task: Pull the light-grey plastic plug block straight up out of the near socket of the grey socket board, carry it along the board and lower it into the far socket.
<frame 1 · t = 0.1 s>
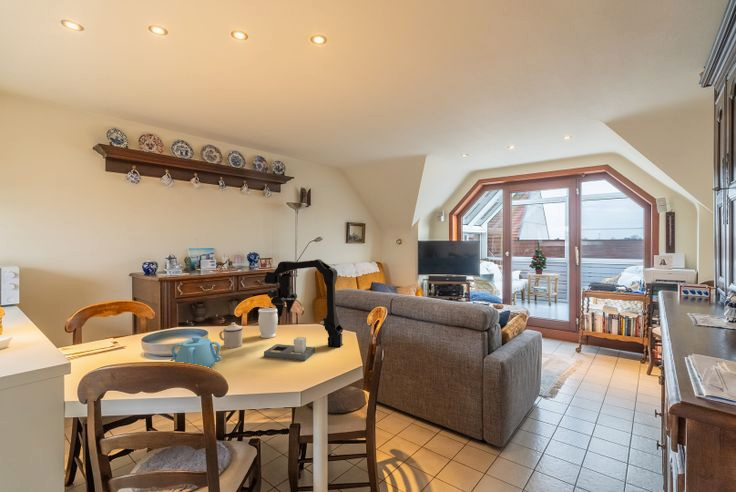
hand: (284, 314, 180), 15 cm above the table, fingers open, 9 cm apart
jar: (268, 336, 191), on the table
teacup with lid: (230, 345, 174), on the table
decorative pot: (196, 370, 141), on the table
grey socket board: (290, 355, 159), on the table
plug: (300, 355, 158), resting on grey socket board
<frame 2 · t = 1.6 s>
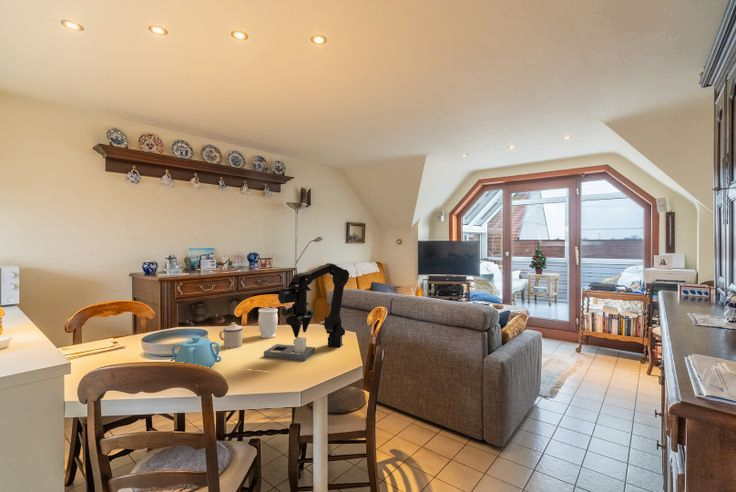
hand: (300, 334, 158), 10 cm above the table, fingers open, 9 cm apart
nothing on the table moved.
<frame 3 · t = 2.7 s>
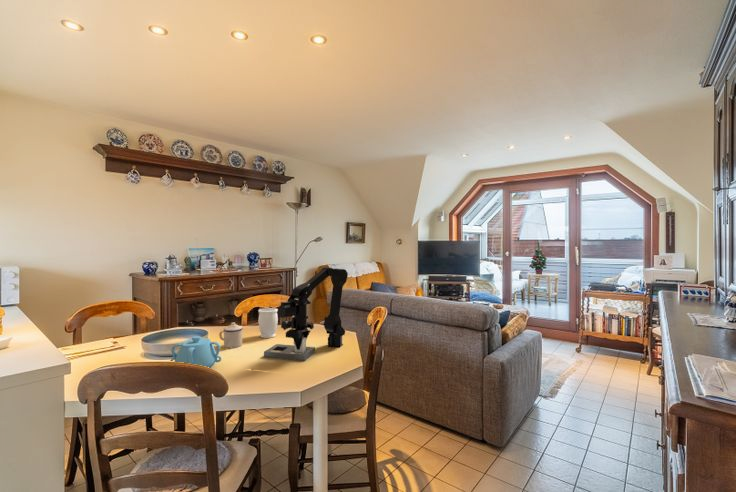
hand: (300, 348, 158), 4 cm above the table, fingers closed on plug, 4 cm apart
plug: (300, 355, 158), resting on grey socket board, touching gripper
everything else where it was.
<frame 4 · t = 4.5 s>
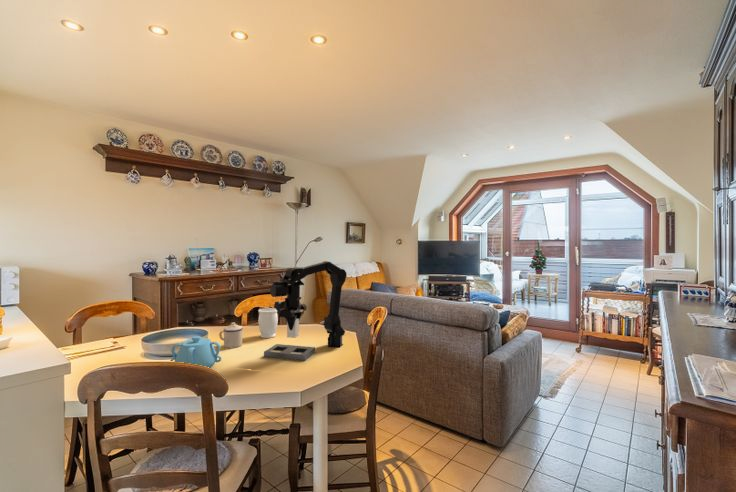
hand: (292, 328, 159), 13 cm above the table, fingers closed on plug, 4 cm apart
plug: (292, 336, 159), point 9 cm above the table, touching gripper
everything else where it was.
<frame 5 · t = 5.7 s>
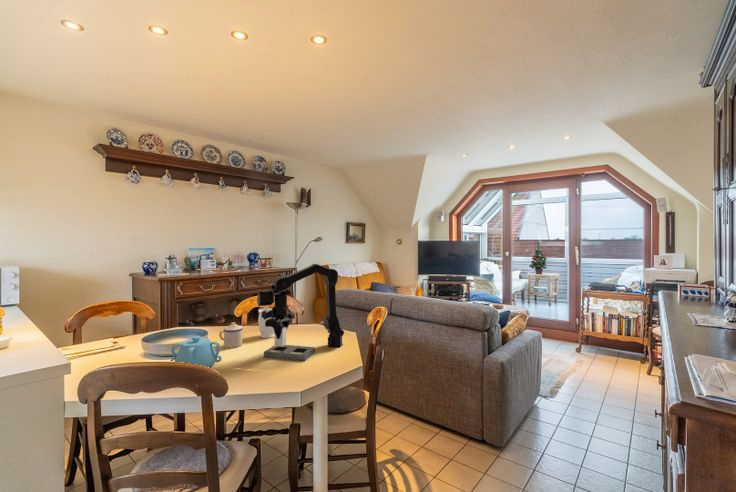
hand: (280, 337, 160), 8 cm above the table, fingers closed on plug, 4 cm apart
plug: (280, 344, 160), point 5 cm above the table, touching gripper
everything else where it was.
when the fingers open (5 cm above the table, at t = 6.6 s): plug stays where it is, resting on grey socket board.
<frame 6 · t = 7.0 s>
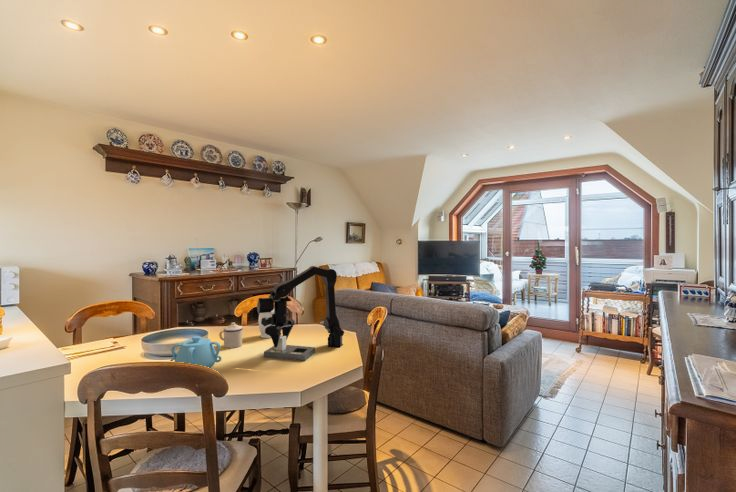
hand: (280, 344, 160), 5 cm above the table, fingers open, 9 cm apart
plug: (280, 353, 160), resting on grey socket board
everything else where it was.
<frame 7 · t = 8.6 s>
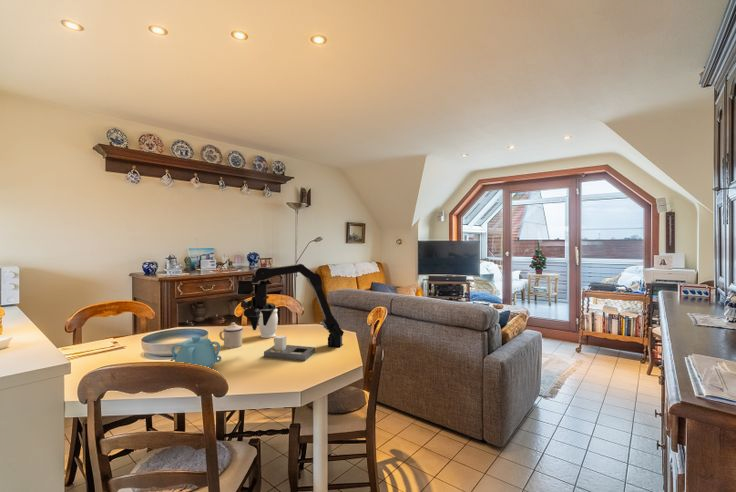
hand: (259, 327, 159), 13 cm above the table, fingers open, 9 cm apart
nothing on the table moved.
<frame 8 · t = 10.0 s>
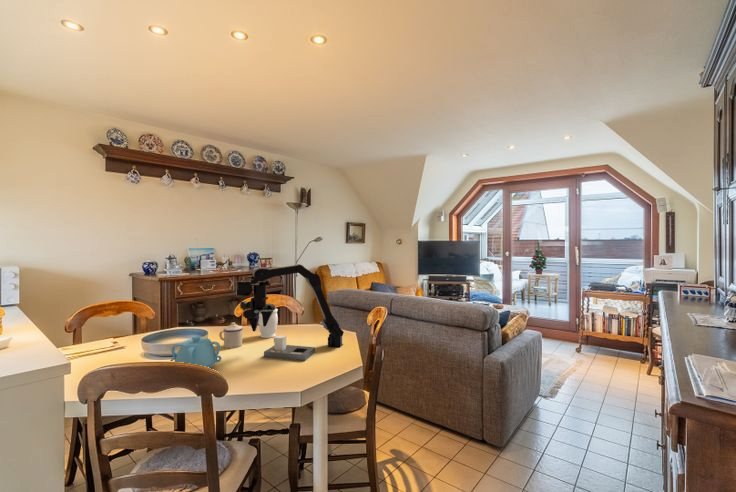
hand: (259, 328, 159), 12 cm above the table, fingers open, 9 cm apart
nothing on the table moved.
at the end: plug 0.0 cm from the target spot on the grey socket board, point 0.5 cm above the grey socket board's base; plug tilted 0°; the gripper is holding nothing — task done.
